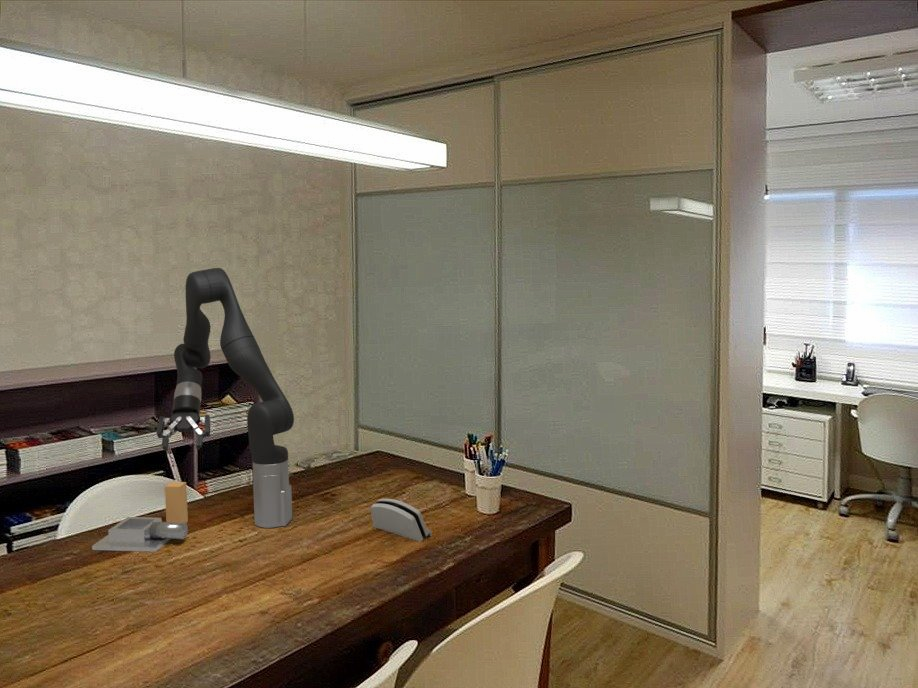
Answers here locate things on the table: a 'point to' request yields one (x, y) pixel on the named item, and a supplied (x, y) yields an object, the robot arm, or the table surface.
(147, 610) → the table surface
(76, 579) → the table surface
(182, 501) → the upright wooden block
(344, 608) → the table surface
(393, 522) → the grey rounded block
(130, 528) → the bracket head
